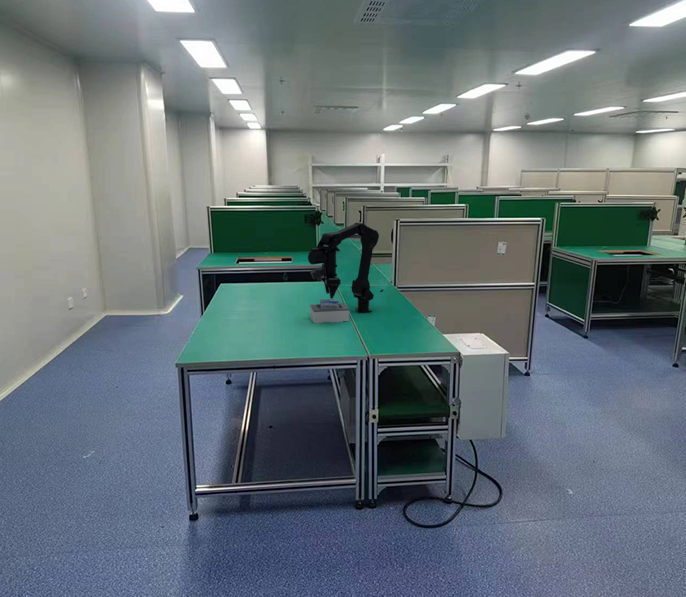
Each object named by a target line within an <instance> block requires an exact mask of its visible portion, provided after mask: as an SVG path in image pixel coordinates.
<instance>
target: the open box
mask: <svg viewBox="0 0 686 597" xmlns="http://www.w3.org/2000/svg"><path fill="white" fill-rule="evenodd" d="M309 312H310V316H309V317H310V319H311V320H313V321H312V323H313V322H314V323H313V324H324V323H323V322H331V323H344V322H343V321H350V308H349V307H348V306H347V304H345V302H339V308H335V309H320V303H316V304H310V308H309Z"/></svg>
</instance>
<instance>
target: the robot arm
mask: <svg viewBox="0 0 686 597" xmlns="http://www.w3.org/2000/svg"><path fill="white" fill-rule="evenodd" d="M355 235H358V236H359V237H360V245H361V247H362V250H361V254H360V260H359V266H358V274H357V277H356V278H355V279H353V280H352V281H351V283H352V284H351V286H350V288H351V293H352V295H353V298H355V299H357V302H356V303H357V306H356V307H355V310H356V311H357V313H371V312H372V310H371V309H370V301H372V300H373V299H374V293H373V292H372V291H371V290H370V289H371V284H370V280H369V274H370V268H371V267H370V266H371V263H372V256H373V250H374V248H375V247H376V246H377V244H378V242H379V239H380V234H379V232H378V230H376V229H373V228H371V227H369V226H367V225H366V224H365V223H362V222H354V223H353V224H350V225H349V226H346V227H345V228H341V229H339V230H337V231H330V232H325V233H323V234H322V235H321V238H320V240H319V242H318V243H317V245H316V247H315V248H314V247H313V248H311V249H310V251H309V252H308V255H307V261H308V263H309V264H310V265H317V264H318V265H319V264H321V267H317V268H315V269H312V270H310V275H311V277H312V279H313V280H317V279H318V278H320V280H321V281H323V285H324V289H325V292H326V294H327V295H328V294H329V297H330V298H329V299H334V297H335V294H336V293H337V290H338V288H339V287H340V285H341V284H342V283H341V282H342V281H341V279H340V278H339V277H338V273H337V268H338V264H337V252H340V251H341V249H340V248H339V247H338V246H339V245H341V244H342V241H344V240H346V239H348V238H351V237H353V236H355Z"/></svg>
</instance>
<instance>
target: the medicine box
mask: <svg viewBox="0 0 686 597" xmlns="http://www.w3.org/2000/svg"><path fill="white" fill-rule="evenodd" d="M339 303H340V302H339V300H338V298H333V299H331V298H329V299H327V298H326V299H319V304H320V309H335V308H339Z"/></svg>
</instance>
